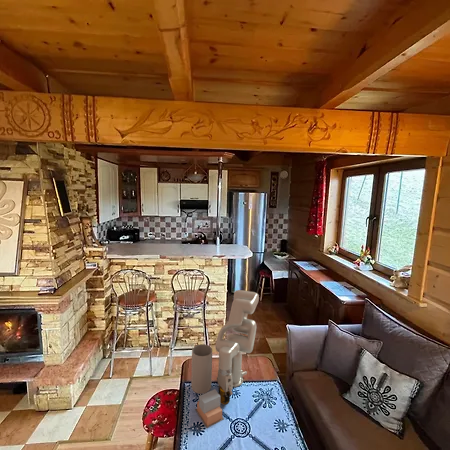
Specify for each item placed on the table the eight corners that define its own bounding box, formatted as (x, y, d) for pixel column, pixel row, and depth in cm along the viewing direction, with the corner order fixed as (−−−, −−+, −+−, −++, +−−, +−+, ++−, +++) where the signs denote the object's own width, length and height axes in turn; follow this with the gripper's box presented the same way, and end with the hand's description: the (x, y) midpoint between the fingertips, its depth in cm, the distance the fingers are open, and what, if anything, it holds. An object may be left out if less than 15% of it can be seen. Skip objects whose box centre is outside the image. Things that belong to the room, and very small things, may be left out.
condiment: (228, 407, 152) (228, 388, 151) (214, 403, 155) (214, 385, 153) (231, 398, 159) (232, 380, 158) (218, 394, 162) (219, 376, 160)
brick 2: (197, 409, 149) (197, 401, 149) (211, 403, 154) (211, 395, 154) (207, 426, 139) (207, 417, 139) (222, 418, 144) (222, 410, 144)
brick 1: (214, 398, 151) (215, 389, 151) (220, 406, 146) (220, 396, 146) (198, 405, 146) (199, 395, 145) (204, 413, 141) (204, 403, 140)
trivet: (211, 402, 156) (211, 401, 156) (224, 420, 144) (224, 419, 144) (194, 410, 150) (194, 409, 150) (206, 429, 138) (206, 428, 138)
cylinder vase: (187, 391, 164) (188, 353, 161) (197, 377, 176) (197, 342, 172) (206, 397, 160) (207, 358, 156) (214, 383, 171) (215, 347, 168)
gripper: (239, 375, 149) (237, 405, 151) (222, 358, 163) (221, 385, 165) (227, 380, 145) (226, 410, 147) (211, 362, 159) (211, 390, 161)
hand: (223, 397), depth 156 cm, fingers closed on condiment, 6 cm apart
